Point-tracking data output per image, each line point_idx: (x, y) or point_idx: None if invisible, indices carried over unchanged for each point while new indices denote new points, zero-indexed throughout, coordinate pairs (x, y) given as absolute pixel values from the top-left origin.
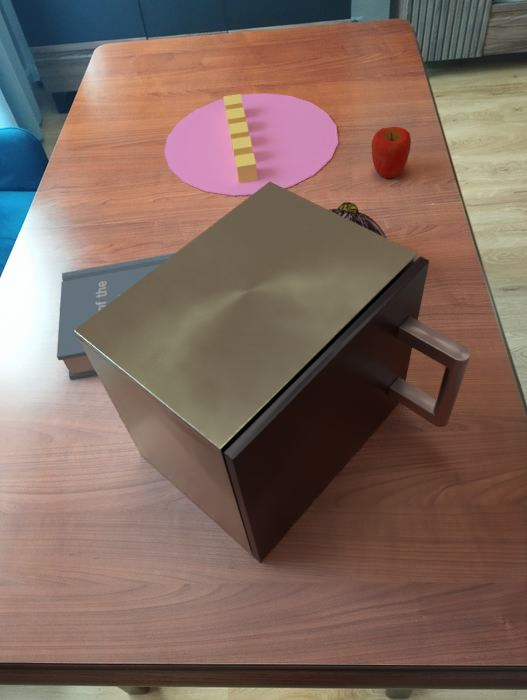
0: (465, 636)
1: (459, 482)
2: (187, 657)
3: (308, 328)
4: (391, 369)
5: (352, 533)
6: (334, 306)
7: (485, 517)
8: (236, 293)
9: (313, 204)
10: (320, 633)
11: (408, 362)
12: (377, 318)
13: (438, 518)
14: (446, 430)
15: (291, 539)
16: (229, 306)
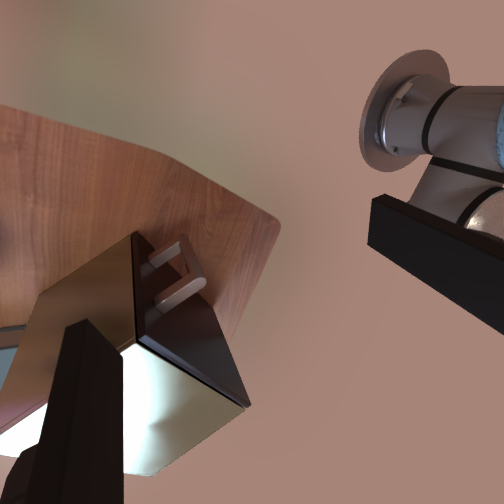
0: (268, 239)
1: (204, 216)
2: (236, 328)
3: (190, 394)
4: (158, 282)
5: (212, 272)
6: (177, 386)
7: (226, 211)
8: (145, 430)
9: (33, 414)
10: (245, 289)
11: (140, 256)
12: (189, 358)
13: (219, 233)
14: (167, 210)
15: (206, 296)
16: (157, 430)
